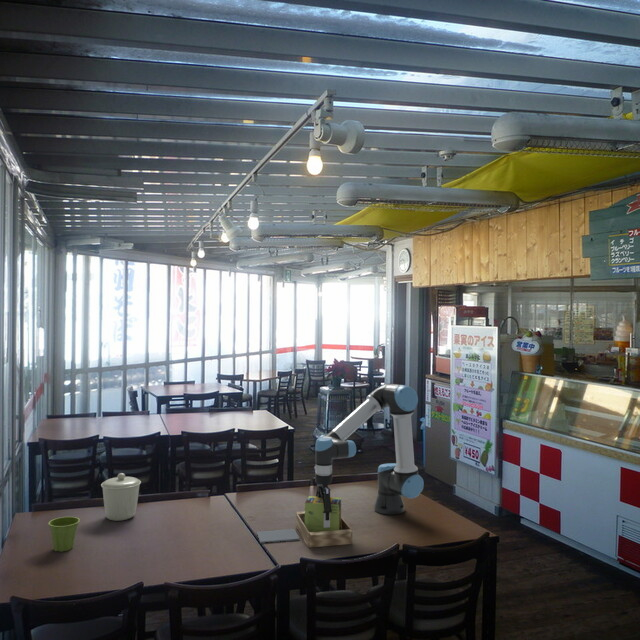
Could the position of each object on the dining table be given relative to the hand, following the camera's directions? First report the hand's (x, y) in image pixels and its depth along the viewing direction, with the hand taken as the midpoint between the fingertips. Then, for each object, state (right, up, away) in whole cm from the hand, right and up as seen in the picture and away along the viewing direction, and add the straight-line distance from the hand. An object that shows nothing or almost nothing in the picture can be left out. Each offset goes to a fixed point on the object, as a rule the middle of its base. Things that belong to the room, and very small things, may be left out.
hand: (323, 522), depth 255 cm
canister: (-97, -5, +20) cm, 99 cm away
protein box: (0, -6, 0) cm, 6 cm away
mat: (-20, -5, -3) cm, 21 cm away
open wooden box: (0, -6, 0) cm, 6 cm away
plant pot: (-107, -5, -18) cm, 108 cm away
